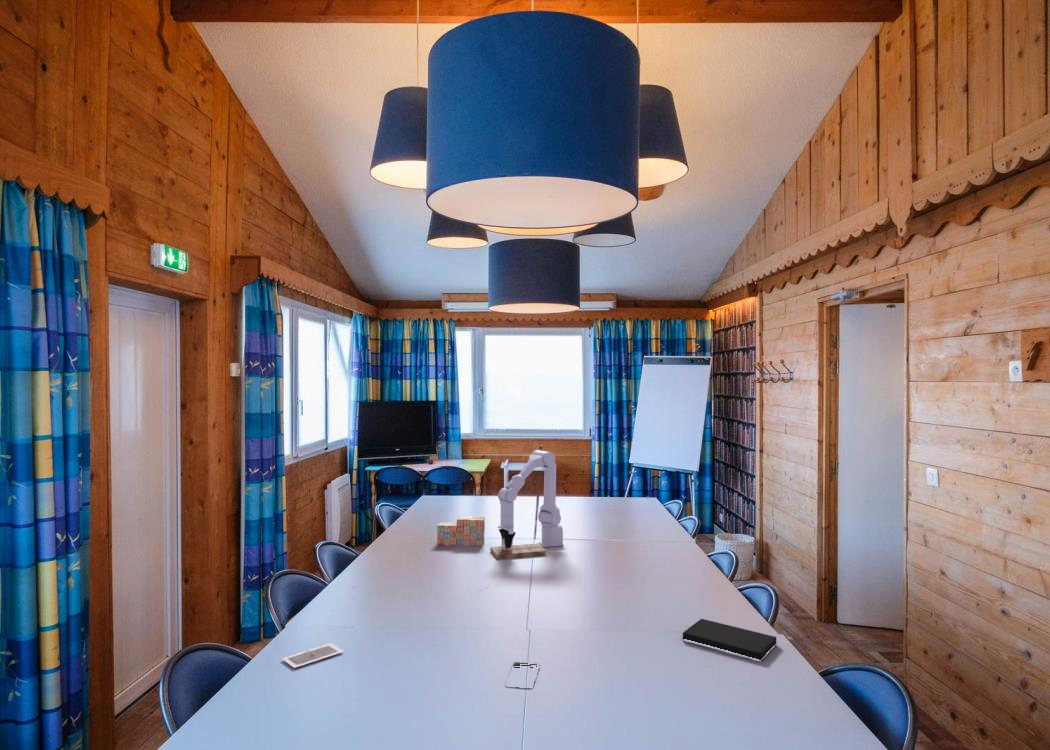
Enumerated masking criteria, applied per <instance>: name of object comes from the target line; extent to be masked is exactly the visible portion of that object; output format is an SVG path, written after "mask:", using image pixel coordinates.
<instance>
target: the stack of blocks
mask: <svg viewBox="0 0 1050 750" xmlns="http://www.w3.org/2000/svg"><path fill="white" fill-rule="evenodd" d="M485 519H486V518H485V517H483V516H458V517H457V519H456V522H439V523H438V524H437V526H436V527H437V529H436V530H437V534H436V535H437V536H436V538H437V539H436V546H452V545H474V546H473V547H483V546H484V545H483V544H485V529H486V527H485V526H486V525H485Z"/></svg>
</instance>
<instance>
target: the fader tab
mask: <svg viewBox="0 0 1050 750" xmlns="http://www.w3.org/2000/svg"><path fill="white" fill-rule="evenodd" d="M513 541H514V540H513ZM513 541H512V545H511V548H506V546H505V540H504V537H501V546H502V550H503V551H509V550H513V545H514V543H513Z"/></svg>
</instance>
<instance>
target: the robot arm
mask: <svg viewBox="0 0 1050 750" xmlns="http://www.w3.org/2000/svg"><path fill="white" fill-rule="evenodd" d="M536 468H541V469H542V470H543V471H544V473H543V474H544V475H543V476H544V477H543V482H544V483H543V504H542V505H540V508H539V513H538V521H539V522H540V525H541V541H538V544H539V545H540V546H541V547H542V548H548V547H560V546H562V547H563V546H564V544H563V543H564V529H563V526H562V525H561V524H560V523H561V521H562V516H561V513H560V512H561V510H560V508H559V507H558V506H557V505H556V502H557V501H556V499H557V498H556V497H557V496H556V493H557V489H556V488H557V464H556V455H555V454H554V453H553V452H551V451H546V450H539V449H535V450H533V451H532V453H531V454H529V458H528V460H527V461H526V464H525V465H524V467H523V468H522V469H521V471H520V472H519V474H514V475H513V476H512V477H511V478H510V481H508V483H507V484H506V485H505V487H502V488H501V489H499V492H498V493H497V499H498V500H499V504H500V525H498V526H497V529H498V531H499V533H500V537H501V538H502V537H504V540H505V546H506V548H511V545H512V541H514V538H515V535H516V532H515V531H514V528H515V523H514V516H515V515H514V514H515V513H514V508H515V507H514V505H515V504H514V502H515V501H516V500H517V497H518V493H519V491H520V490H521V489H522V488H523V486H524V485H525V484H526V483H525V482H526V479H527V478H528V476H530V475H531V473H532V472H533V471H534V470H535V469H536Z"/></svg>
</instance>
